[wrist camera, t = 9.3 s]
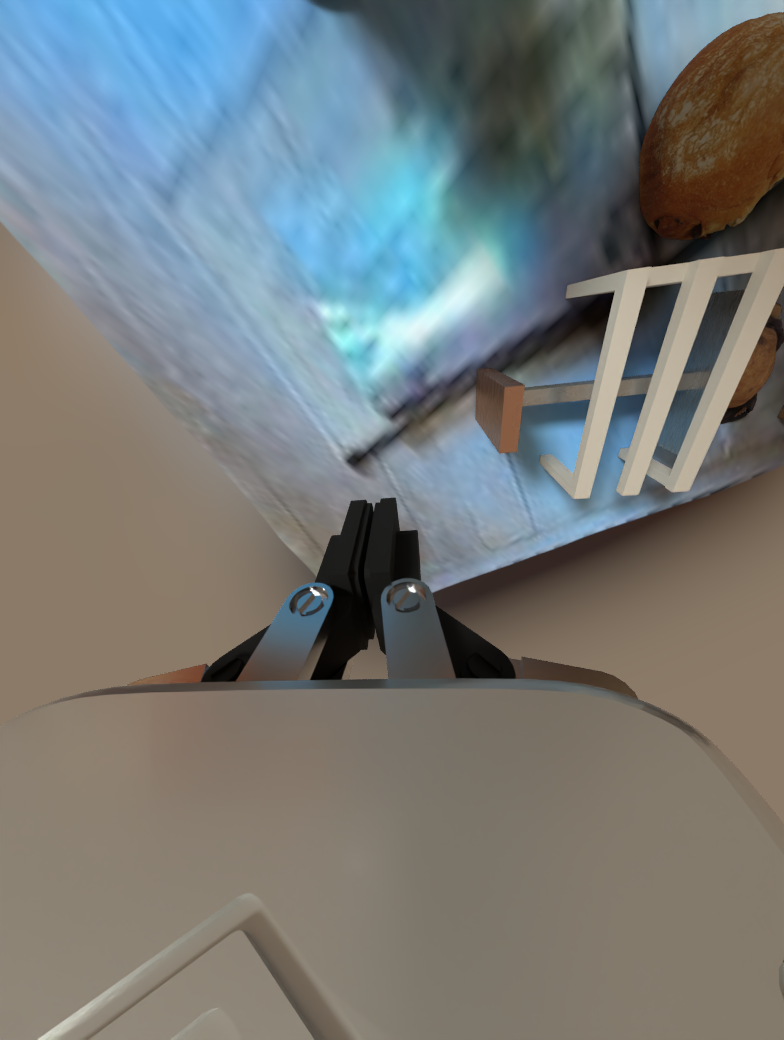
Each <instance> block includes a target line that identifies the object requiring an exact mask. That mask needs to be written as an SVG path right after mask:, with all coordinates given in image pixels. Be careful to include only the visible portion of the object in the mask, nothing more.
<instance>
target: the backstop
mask: <svg viewBox="0 0 784 1040" xmlns="http://www.w3.org/2000/svg"><path fill="white" fill-rule="evenodd" d="M778 417H779V418H783V419H784V406H783V408H782V410H781V412H780V414H779V415H778Z"/></svg>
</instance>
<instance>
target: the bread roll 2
mask: <svg viewBox="0 0 784 1040" xmlns="http://www.w3.org/2000/svg"><path fill="white" fill-rule="evenodd" d="M780 312H781V307H780V305H779V304H775V305H774V307H773V309H772V312H771V314H770V316H769V318H768V320H767V322H766V325H765V327H764V329H763V331H762V333H761V336H760V338H759V340H758V342H757V344H756V346H755V349H754V351H753V353H752V355H751V357H750V359H749V362H748V364H747V366H746V368H745V370H744V373H743V375H742V377H741V379H740V381H739V383H738V386H737V388H736V390H735V392H734V394H733V396H732V399H731V401H730V403H729V405H728V407H727V409H726V412H725V414H724V416H723V418H722V420H721V423H720V424H723V423H727V422H731V421H735V420H738V419H741V418H742V417H745V416H746V415H747V413H749V412H750V411H752V410H753V408H754V406H755V403H756V400H757V398H756V396H757V392H758V391H759V390H760V389H761V388H762V386H763V385H764V384H765V382H766V381H767V379H768V378H769V376H770V374H771V372H772V370H773V367H774V364H775V356H776V352H777V350H778V349H779V347H780V346H781V344H782V343H783V341H784V334H783V329H782V321H781V320H780V319H778V317H779V314H780ZM745 408H746V412H745V411H744V409H745ZM743 411H744V412H743ZM742 412H743V413H742Z"/></svg>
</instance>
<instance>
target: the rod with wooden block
mask: <svg viewBox="0 0 784 1040" xmlns="http://www.w3.org/2000/svg"><path fill="white" fill-rule="evenodd" d="M745 290H746V289H744V290H734V291H725V292H716V293H711V296H710V299H709V302H708V304H707V307H706V310H705V313H704V315H703V318H702V321H701V324H700V326H699V329H698V332H697V335H696V337H695V340H694V343H693V346H692V348H691V351H690V354H689V357H688V359H687V362H686V365H685V368H684V370H683V373H682V376H681V379H680V381H679V384H678V387H677V390H676V392H675V395H674V398H673V401H672V404H671V406H670V409H669V412H668V415H667V417H666V420H665V423H664V426H663V428H662V431H661V434H660V437H659V439H658V442H657V445H658V446H660V447H662V448H664V449H666V450H668V451H670V452H672V453H674V454H676V455H678V454H679V451H680V449H681V446H682V444H683V441H684V439H685V436H686V434H687V432H688V429H689V427H690V424H691V422H692V419H693V417H694V414H695V412H696V410H697V407H698V405H699V402H700V400H701V397H702V395H703V392H704V390H705V388H706V385H707V383H708V380H709V378H710V375H711V373H712V370H713V368H714V366H715V363H716V361H717V358H718V356H719V353H720V351H721V348H722V346H723V344H724V341H725V339H726V336H727V334H728V331H729V329H730V326H731V324H732V322H733V319H734V317H735V314H736V312H737V309H738V307H739V304H740V302H741V300H742V297H743V295H744V292H745ZM652 376H653V374H647V375H638V376H629V377H622V378H621V382H620V386H619V389H618V393H617V397H619V396H629V395H639V394H647V392H648V389H649V386H650V382H651V379H652ZM594 382H595V380H591V381H582V382H572V383H563V384H554V385H544V386H535V387H525V385H523V384H521V383H520V382H518V381H516V380H514V379H512V378H510V377H508V376H506V375H504V374H502V373H500V372H498V371H497V370H495V369H493V368H484V369H477V387H476V416H475V419H476V421H477V422H478V424H479V425H480V426H481V428H482V429H483V431H484V432H485V434H486V435H487V436H488V438H489V439H490V441H491V442H492V444H493V445H494V446H495V448H496V449H497V451H498V452H499V453H510V452H517V450H518V441H519V432H520V423H521V414H522V406H530V405H540V404H550V403H560V402H569V401H579V400H589V399H591V395H592V390H593V386H594Z"/></svg>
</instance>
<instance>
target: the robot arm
mask: <svg viewBox="0 0 784 1040" xmlns="http://www.w3.org/2000/svg"><path fill="white" fill-rule="evenodd" d="M375 629H376V633H377V638H378V640H379V645H380V649H381V651H382V652H383V653H384V654H385V655H386V658H387V669H388V679H368V680H367V679H363V680H349V677H350V673H351V670H352V667H353V661H354V660H353V656H354V655H356V654H357V653H358V652H359V651H360V650H364V649H365V650H367V647H368V640H369V639H373V638H374V634H375ZM0 1040H784V823H783V822H782V821H781V819H780V818H779V817H778V816H777V814H776V813H775V812H774V810H772V808H771V807H770V806H769V805H768V803H767V802H766V801H765V799H764V798H763V797H762V796H761V795H760V794H759V792H758V791H757V790H756V789H755V787H754V786H753V785H752V784H751V783H750V782H749V780H748V779H747V778H746V777H745V776H744V775H743V774H742V772H741V771H740V770H739V769H738V768H737V767H736V766H735V765H734V764H733V762H732V761H731V760H730V759H729V758H728V757H727V756H726V755H725V754H724V753H723V752H722V751H721V750H720V749H719V748H718V747H717V746H716V745H715V744H714V743H713V742H711V741H710V740H709V739H708V738H707V737H706V736H704V735H703V734H702V733H701V732H700V731H698V730H697V729H696V728H694V727H693V726H691V725H690V724H688V723H687V722H685V721H684V720H682V719H680V718H679V717H677V716H675V715H673V714H671V713H669V712H667V711H665V710H663V709H661V708H658V707H656V706H654V705H652V704H649V703H647V702H644V701H641V700H639V699H638V697H637V696H636V694H635V692H634V691H633V690H632V689H631V688H629V686H628V685H627V684H626V683H625V682H623V681H621V680H620V679H618V678H617V677H615V676H613V675H610V674H607V673H604V672H601V671H595V670H590V669H585V668H580V667H574V666H569V665H564V664H558V663H553V662H548V661H542V660H537V659H532V658H526V657H521V660H516V659H510V658H508V657H507V656H506V655H505V654H504V653H503V652H502V651H501V650H499V649H498V648H496V647H495V646H493V645H492V644H490V643H489V642H488V641H486V640H485V639H483V638H482V637H480V636H479V635H478V634H476V633H475V632H473V631H472V630H470V629H469V628H467V627H466V626H465V625H463V624H462V623H460V622H459V621H457V620H456V619H454V618H453V617H451V616H450V615H449V614H447V613H446V612H444V611H443V610H442V609H440V608H438V607H437V606H436V605H435V603H434V599H433V596H432V592H431V591H430V589H429V587H428V586H427V585H426V584H425V583H424V582H422V581H421V574H420V556H419V542H418V531H417V530H411V531H400V528H399V520H398V512H397V503H396V498H383V499H381V501H380V503H376V504H375V509H374V511H373V506H372V503H367V501H366V500H357V501H351V503H350V506H349V509H348V512H347V516H346V519H345V522H344V525H343V528H342V532H341V535H333V536H331V538H330V541H329V544H328V547H327V549H326V552H325V555H324V558H323V561H322V564H321V566H320V569H319V572H318V575H317V578H316V581H315V583H310V584H306V585H303V586H301V587H299V588H297V589H296V590H295V591H293V592H292V593H291V594H290V595H289V596H288V598H287V599H286V601H285V602H284V604H283V605H282V607H281V609H280V610H279V612H278V614H277V615H276V617H275V618H274V620H273V622H272V623H271V624H270V625H269V626H267V627H266V628H264V629H263V630H261V631H260V632H258V633H257V634H255V635H254V636H252V637H251V638H249V639H248V640H246V641H245V642H243V643H242V644H240V645H238V646H237V647H236V648H234V649H232V650H231V651H229V652H228V653H226V654H225V655H223V656H222V657H220V658H219V659H218V660H217V661H215V662H214V663H213V664H212V665H211V666H210V667H209V666H208V665H207V664H202V665H198V666H194V667H190V668H186V669H181V670H177V671H173V672H169V673H165V674H160V675H156V676H152V677H148V678H144V679H140V680H137V681H135V682H132V683H130V684H128V685H127V686H120V687H111V688H105V689H100V690H94V691H89V692H84V693H81V694H77V695H73V696H69V697H65V698H62V699H59V700H56V701H53V702H51V703H48V704H45V705H42V706H39V707H37V708H35V709H32V710H30V711H28V712H26V713H24V714H21V715H19V716H18V717H16V718H13V719H11V720H9V721H7V722H5V723H4V724H2V725H1V726H0Z"/></svg>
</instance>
